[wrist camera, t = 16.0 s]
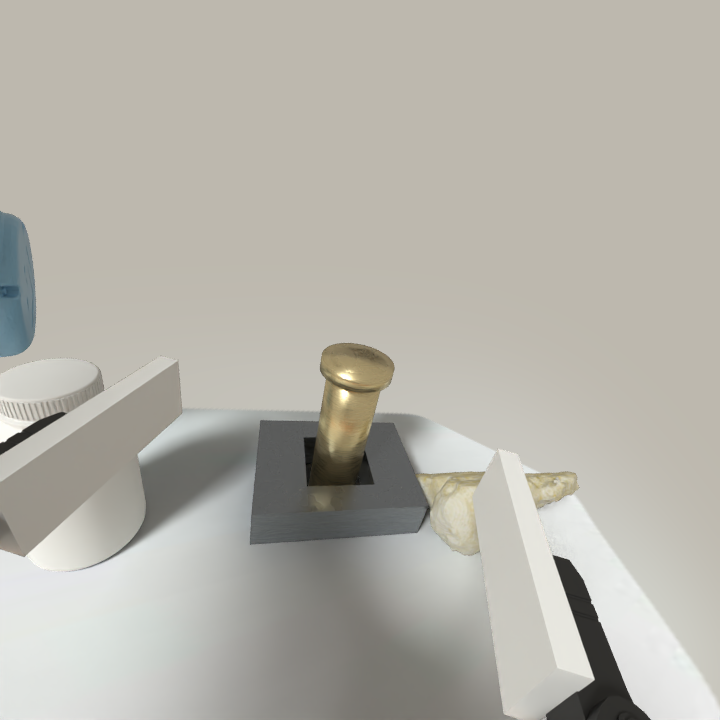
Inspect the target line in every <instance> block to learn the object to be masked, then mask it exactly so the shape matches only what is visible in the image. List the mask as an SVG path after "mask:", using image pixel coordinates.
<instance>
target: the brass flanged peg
mask: <svg viewBox="0 0 720 720" xmlns="http://www.w3.org/2000/svg"><path fill="white" fill-rule="evenodd" d="M320 371H321V373H322V375H323V376H324V377H325V378H326V383H325V389H324V395H323V401H322V407H321V413H320V419H319V425H318V431H317V437H316V443H315V449H314V455H313V461H312V467H311V473H310V479H309V486H341V485H356V482H357V478H358V474H359V470H360V466H361V463H362V459H363V455H364V451H365V447H366V443H367V440H368V436H369V432H370V428H371V424H372V421H373V417H374V413H375V409H376V405H377V401H378V397H379V394H380V391H381V390H383V389H385V388H386V387H388V386H389V384H390V383H391V380H392V376H393V372H394V363H393V362H392V360H391V359H390V358H389V357H388V356H387V355H385V354H384V353H382V352H380V351H379V350H376V349H374V348H371V347H368V346H365V345H360V344H354V343H340V344H335V345H331V346H329V347H327V348H326V349H325V350H324V351H323V353H322V357H321V364H320Z"/></svg>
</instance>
